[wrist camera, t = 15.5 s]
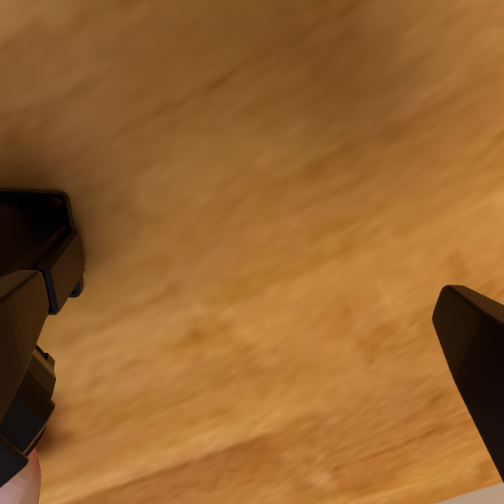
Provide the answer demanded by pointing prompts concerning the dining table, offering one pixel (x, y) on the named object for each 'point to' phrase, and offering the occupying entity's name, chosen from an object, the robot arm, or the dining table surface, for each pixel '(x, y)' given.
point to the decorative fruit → (23, 484)
